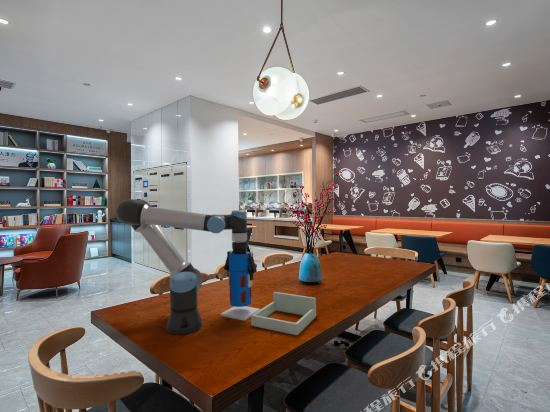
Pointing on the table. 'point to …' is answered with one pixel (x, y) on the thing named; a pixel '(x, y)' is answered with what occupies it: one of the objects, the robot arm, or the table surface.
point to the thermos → (239, 280)
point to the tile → (240, 312)
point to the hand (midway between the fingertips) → (240, 285)
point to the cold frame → (289, 305)
